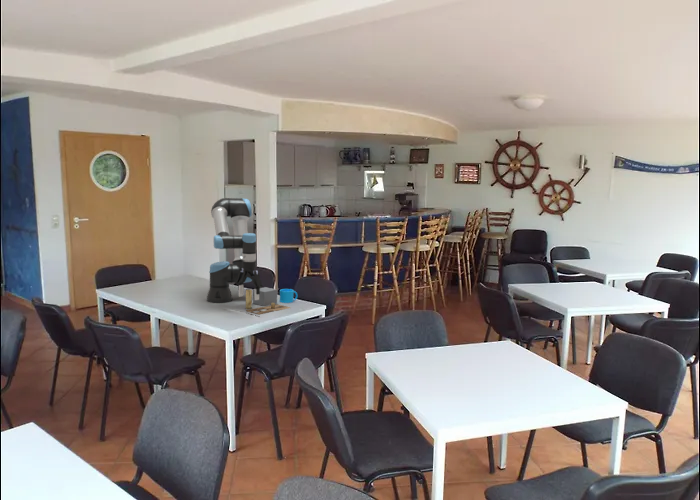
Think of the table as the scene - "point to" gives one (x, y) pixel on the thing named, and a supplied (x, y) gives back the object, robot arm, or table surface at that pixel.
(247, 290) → the peg
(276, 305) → the board
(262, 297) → the block
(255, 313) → the build board
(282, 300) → the mug
